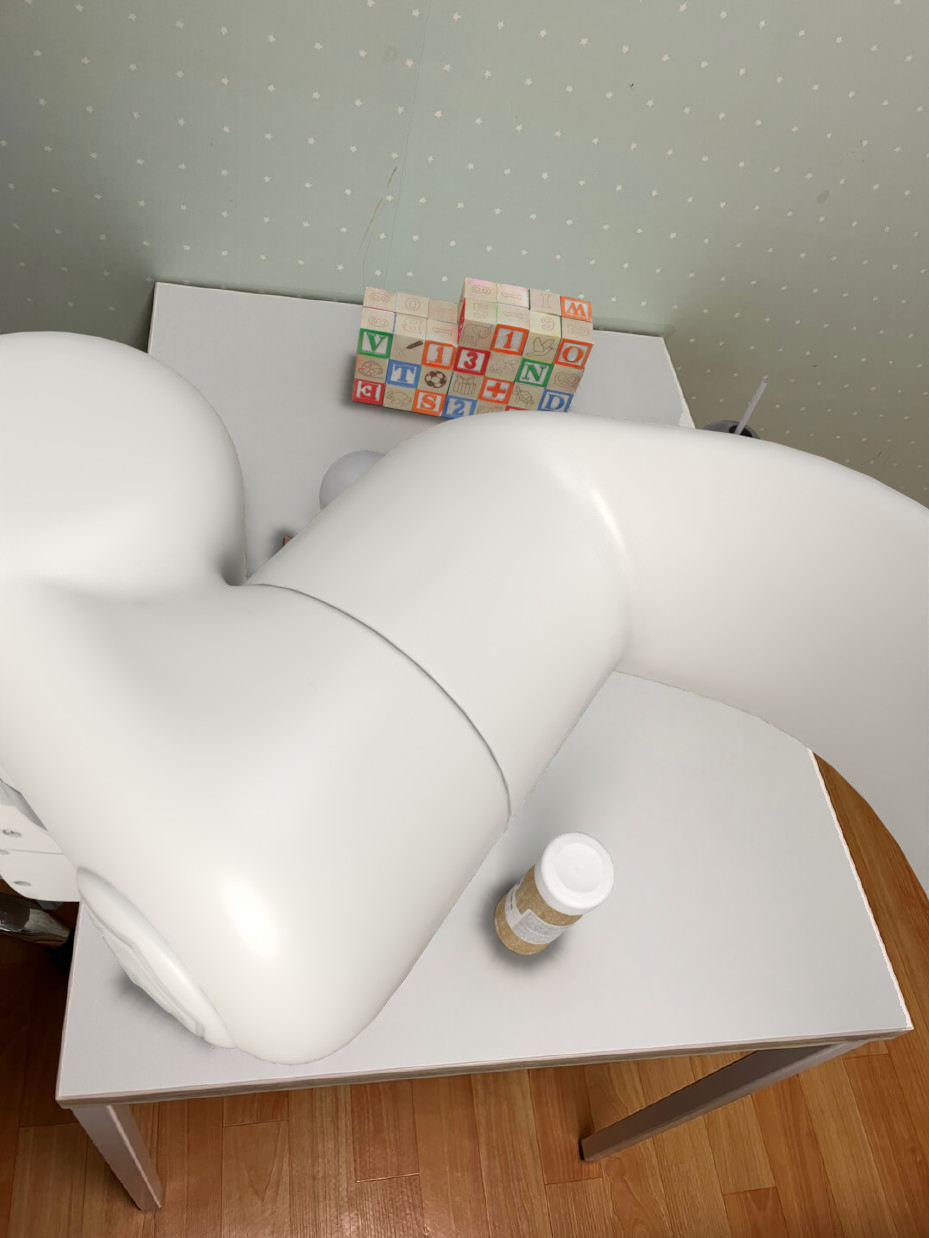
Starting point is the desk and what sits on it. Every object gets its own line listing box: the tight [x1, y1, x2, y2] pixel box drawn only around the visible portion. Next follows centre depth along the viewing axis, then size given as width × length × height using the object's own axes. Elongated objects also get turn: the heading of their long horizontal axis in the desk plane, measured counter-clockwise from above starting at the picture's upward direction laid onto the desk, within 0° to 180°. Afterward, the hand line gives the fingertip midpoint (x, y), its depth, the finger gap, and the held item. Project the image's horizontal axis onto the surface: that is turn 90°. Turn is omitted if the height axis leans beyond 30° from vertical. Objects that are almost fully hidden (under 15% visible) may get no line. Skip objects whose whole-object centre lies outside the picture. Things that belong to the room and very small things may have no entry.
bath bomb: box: [318, 449, 386, 512], centre depth 74 cm, size 8×8×8 cm
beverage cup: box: [700, 379, 769, 440], centre depth 75 cm, size 7×7×20 cm
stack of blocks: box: [351, 276, 595, 419], centre depth 84 cm, size 21×6×12 cm, turn 88°
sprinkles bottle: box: [493, 831, 616, 956], centre depth 56 cm, size 5×5×13 cm
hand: (169, 874), depth 41 cm, fingers open, 9 cm apart
